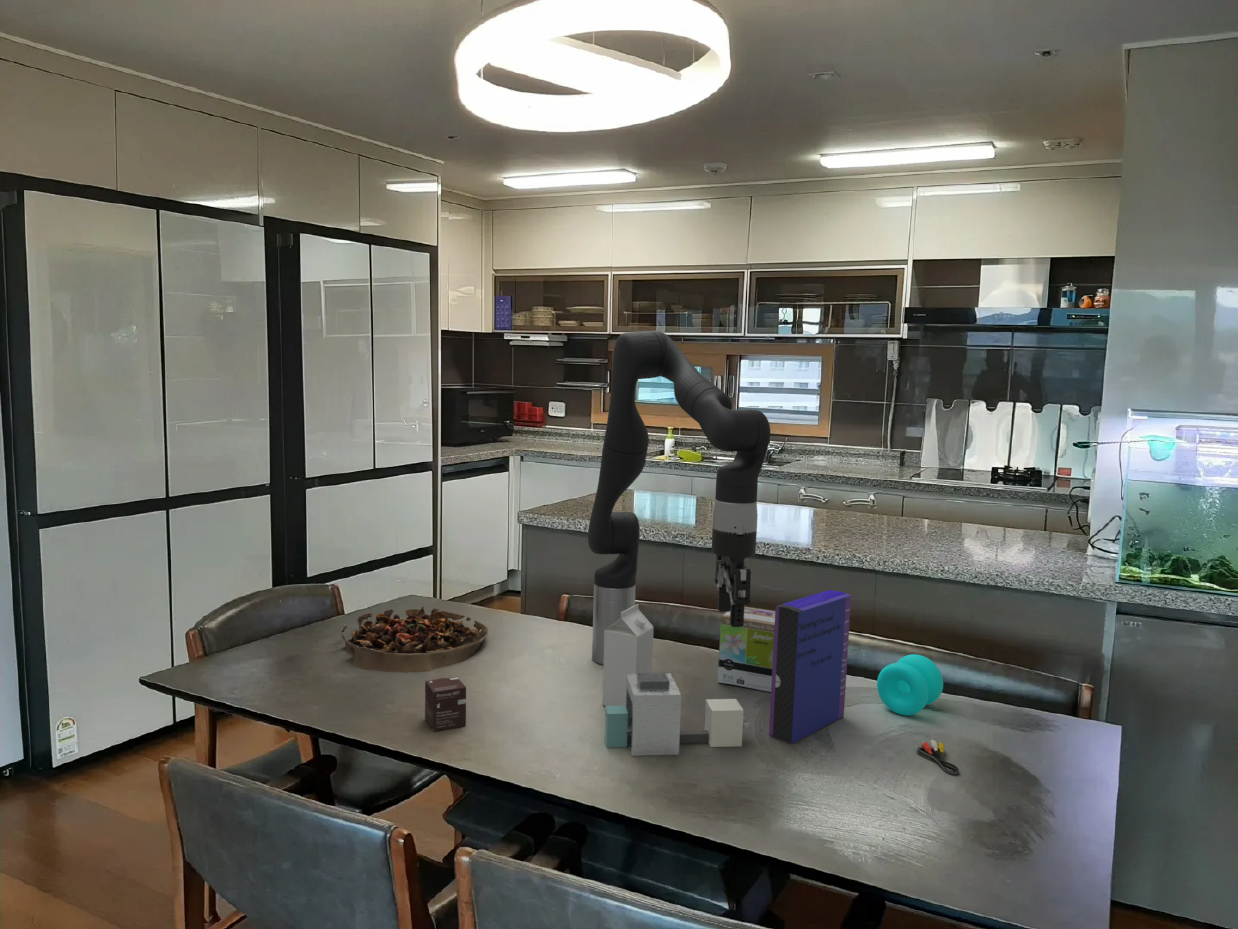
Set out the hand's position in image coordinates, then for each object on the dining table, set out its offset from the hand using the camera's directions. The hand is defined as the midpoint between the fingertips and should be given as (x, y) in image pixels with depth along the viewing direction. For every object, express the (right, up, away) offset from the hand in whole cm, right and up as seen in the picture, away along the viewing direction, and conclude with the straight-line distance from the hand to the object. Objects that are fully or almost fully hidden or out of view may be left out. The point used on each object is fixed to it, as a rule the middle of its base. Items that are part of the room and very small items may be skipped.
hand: (730, 618), depth 143 cm
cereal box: (+15, -22, +9) cm, 28 cm away
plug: (-9, -22, +1) cm, 24 cm away
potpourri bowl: (-66, -16, +47) cm, 83 cm away
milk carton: (-18, -20, +17) cm, 32 cm away
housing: (-14, -22, +1) cm, 26 cm away
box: (-51, -20, +6) cm, 55 cm away
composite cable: (+35, -24, -3) cm, 42 cm away
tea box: (+10, -19, +31) cm, 38 cm away
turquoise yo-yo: (+37, -21, +19) cm, 47 cm away
